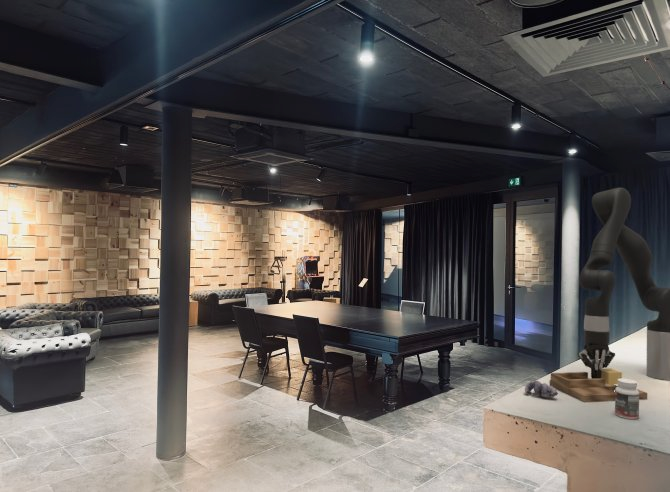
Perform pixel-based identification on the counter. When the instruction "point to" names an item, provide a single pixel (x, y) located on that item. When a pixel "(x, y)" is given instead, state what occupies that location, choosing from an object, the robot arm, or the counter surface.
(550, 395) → the seashell
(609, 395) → the wooden compartment tray
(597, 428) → the counter surface
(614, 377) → the block
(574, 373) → the cubby
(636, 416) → the pill bottle
